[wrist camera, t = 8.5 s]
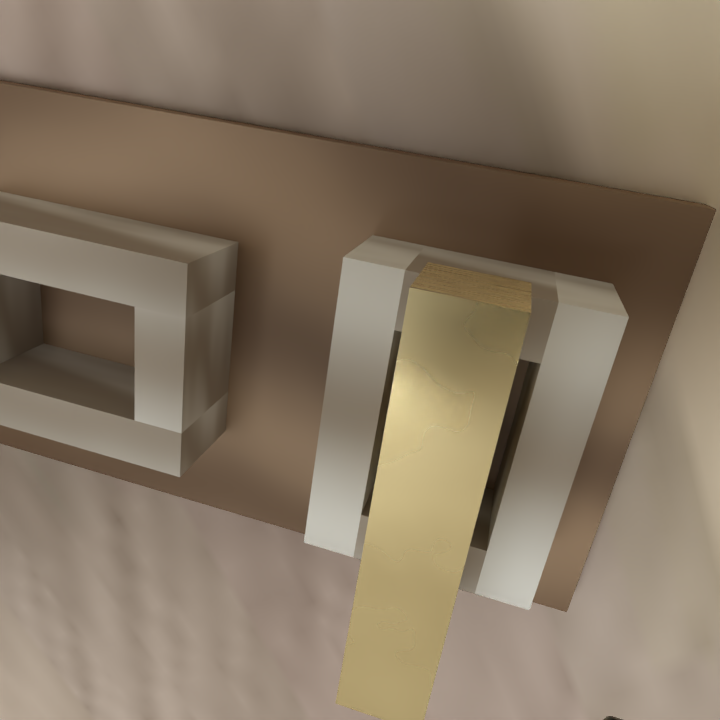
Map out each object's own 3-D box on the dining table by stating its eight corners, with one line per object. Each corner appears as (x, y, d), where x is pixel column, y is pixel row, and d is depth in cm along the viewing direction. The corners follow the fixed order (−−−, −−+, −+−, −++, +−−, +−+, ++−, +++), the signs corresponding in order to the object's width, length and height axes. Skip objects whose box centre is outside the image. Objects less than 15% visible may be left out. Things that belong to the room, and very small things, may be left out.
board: (565, 590, 21) (571, 689, 17) (9, 428, 25) (-80, 480, 21) (705, 204, 16) (756, 230, 12) (-24, 75, 20) (-148, 66, 16)
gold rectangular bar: (532, 236, 16) (531, 313, 10) (455, 539, 20) (420, 732, 14) (456, 222, 17) (410, 287, 10) (396, 523, 21) (335, 703, 14)
